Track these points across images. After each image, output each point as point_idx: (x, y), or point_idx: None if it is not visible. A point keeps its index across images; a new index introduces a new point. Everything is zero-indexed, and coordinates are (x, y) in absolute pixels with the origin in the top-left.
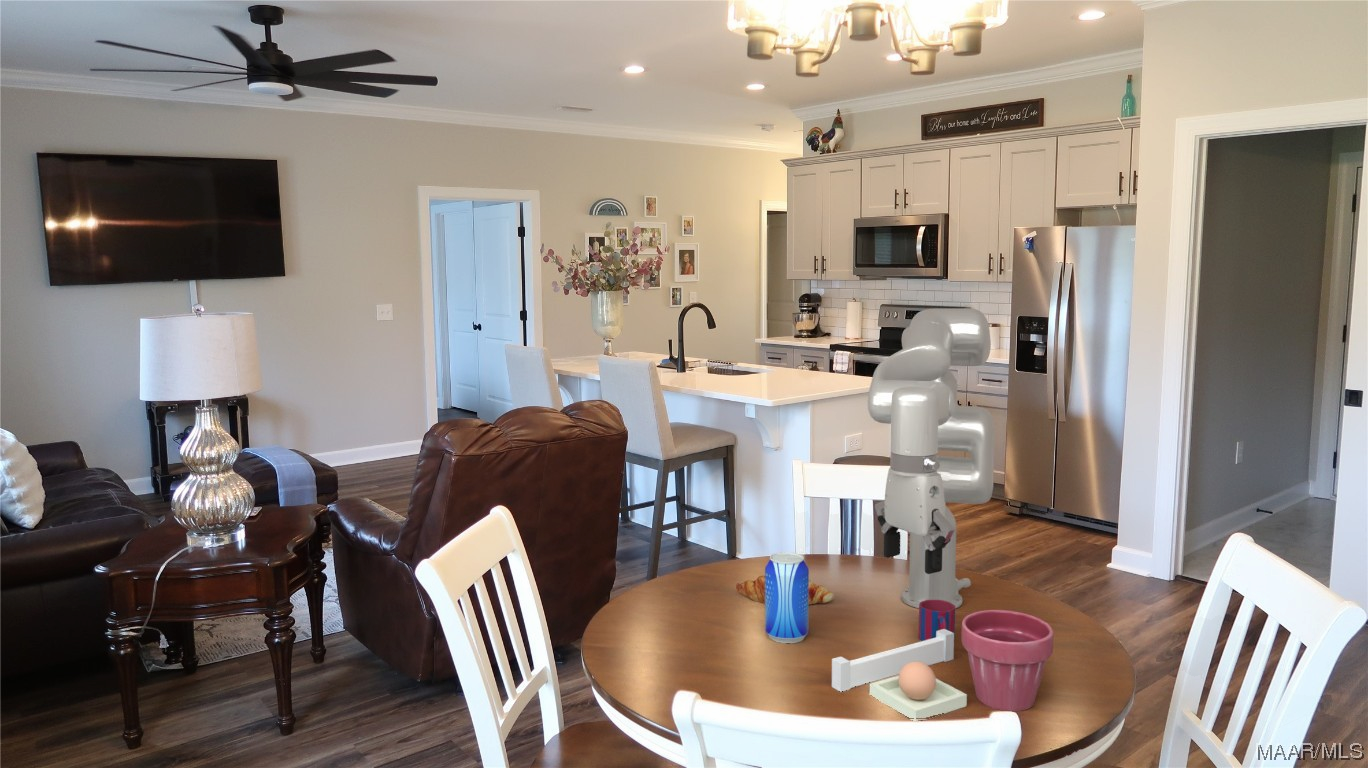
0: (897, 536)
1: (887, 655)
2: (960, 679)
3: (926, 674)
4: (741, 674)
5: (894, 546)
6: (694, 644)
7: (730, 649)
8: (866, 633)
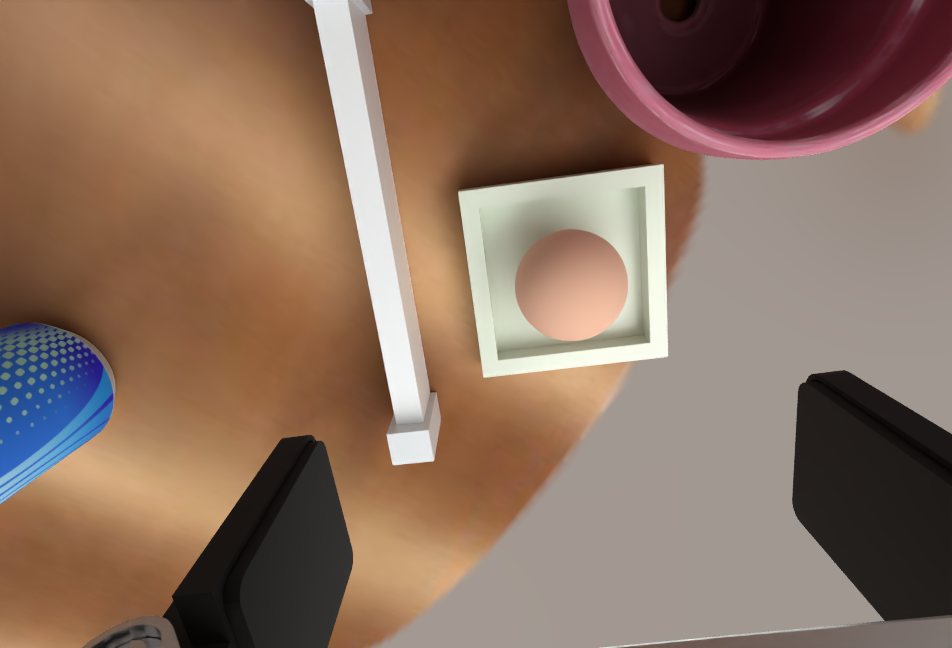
0: (263, 602)
1: (397, 278)
2: (503, 56)
3: (622, 292)
4: None
5: (311, 552)
6: (73, 594)
7: (121, 536)
8: (81, 132)
